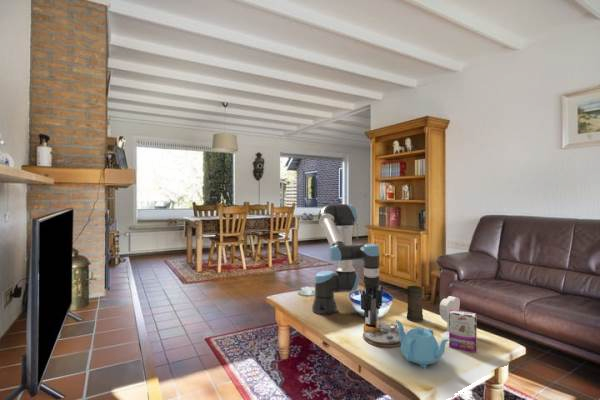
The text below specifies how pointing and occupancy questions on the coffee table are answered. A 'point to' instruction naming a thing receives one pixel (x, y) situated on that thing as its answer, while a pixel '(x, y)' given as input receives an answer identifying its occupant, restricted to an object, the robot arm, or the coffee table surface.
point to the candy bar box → (462, 330)
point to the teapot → (420, 346)
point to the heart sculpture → (445, 308)
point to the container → (415, 304)
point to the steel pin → (372, 312)
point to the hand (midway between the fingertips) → (371, 321)
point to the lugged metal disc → (382, 333)
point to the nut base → (381, 344)
